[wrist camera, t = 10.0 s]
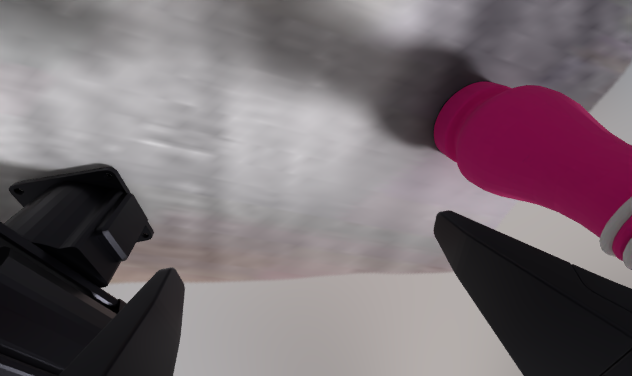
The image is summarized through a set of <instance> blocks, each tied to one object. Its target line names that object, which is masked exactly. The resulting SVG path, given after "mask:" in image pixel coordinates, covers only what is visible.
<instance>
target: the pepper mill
mask: <svg viewBox="0 0 632 376" xmlns="http://www.w3.org/2000/svg"><path fill="white" fill-rule="evenodd" d="M434 140H435V144H436V146H437V148H438V149H439V150H440V151H441V152H442V153H443V154H445V155H446V156H447V157H449V158H450V159H452V160H453V161H455V162H457V164H458V167H459V169H460V171H461V173H462V174H463V176H464V177H465V178H466V179H467V180H468V181H470V182H472V183H473V184H475V185H476V186H478V187H480V188H482V189H483V190H485V191H488V192H491V193H493V194H496V195H499V196H502V197H507V198H512V199H516V200H521V201H526V202H530V203H533V204H537V205H541V206H543V207H546V208H549V209H551V210H554V211H557V212H559V213H561V214H563V215H565V216H567V217H568V218H570V219H572V220H574V221H576V222H578V223H580V224H581V225H583V226H584V227H585V228H587V229H588V230H590V231H591V232H593V233H594V234H596V235H597V236H598V237H600V246H601V248H602V250H603V251H604V252H605V253H606V254H608V255H610V256H614V257H617V258H618V259H620V260H622V261H623V262H624V263H625V265H626V267H627V268H629V269H631V270H632V145H629V144H627V143H625V142H624V141H623V140H621V139H619V138H618V137H616V136H615V135H613V134H612V133H610V132H609V131H608V130H607V129H605V128H604V127H603V126H602V125H601V124H600V123H598V122H597V120H595V119H594V118H593V117H592V116H591V115H590V114H589V113H588V112H587V111H586V110H585V109H584V108H583V107H582V106H581V105H580V104H578V103H577V102H575V101H574V100H572V99H571V98H569V97H567V96H566V95H564V94H562V93H560V92H558V91H555V90H551V89H548V88H545V87H542V86H534V85H526V86H520V87H516V88H510V87H507V86H504V85H500V84H496V83H492V82H487V81H483V82H477V83H473V84H470V85H468V86H466V87H464V88H463V89H461V90H459V91H458V92H456V93H455V94H454V95H453V96H452V97H451V98H450V99H449V100H448V101H447V102H446V103H445V105H444V106H443V108H442V109H441V111H440V113H439V114H438V117H437V120H436V123H435V126H434Z"/></svg>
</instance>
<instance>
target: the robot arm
mask: <svg viewBox="0 0 632 376" xmlns="http://www.w3.org/2000/svg"><path fill="white" fill-rule="evenodd" d="M106 173H109V174H111V175H112V177H110V176H108V175H107V174H106ZM20 189H22V190H23V191H21V190H20ZM9 191H10V193H11V194H12V195H13V196H14V197H15V198H16V199H17V200H18V202H19V203H20V204H21V205H22V206H23V207H24V208H23V209H21V210H20V211H19V212H18V213H16V214H15V215H14V216H13V217H11V218H10V219H9V220H8V221H7V222H5V223H4V224H3V223H2V222H0V376H173V373H174V367H175V363H176V357H177V352H178V347H179V342H180V336H181V326H182V315H183V314H182V313H183V303H184V291H185V288H184V283H183V281H182V280H181V278H180V276H179V275H178V273H177V271H176V270H175V269H174V268H166V269H161V270H159V271H158V272H157V273H156V274H155V275H154V276H153V277H152V278H151V279H150V280H149V281H148V282H147V283H146V284H145V285H144V286H143V287H142V288H141V289H140V291H138V293H137V294H136V295H135V296H134V297H133V298H132V299H131V300H130V301H129V302H128V303H127V304H126V303H125V302H124V301H122V300H121V299H116V298H114V297H113V296H111V295H110V294H108V293H107V292H105V291H104V290H102V289H101V288H102V287H106V286H108V284H109V282H110V280H111V279H112V277H113V275H114V273H115V271H116V270H117V268H118V266H119V264H120V263H121V261H125V260H126V259H127V258H128V256H129V254H130V253H131V251H132V249H133V247H134V245H135V243H136V242H140V241H145V240H149V239H151V238H152V236H153V234H154V232H153V230H152V228H151V226H150V225H149V223H148V219H147V217H146V215H145V214H144V212H143V210H142V209H141V207H140V205H139V204H138V202H137V200H136V199H135V197H134V195H133V194H131V193H130V191H129V189H128V188H127V186H126V184H125V183H124V181H123V179H122V178H121V176H120V174H119V173H118V171H117V170H115V169H114V168H111V167H106V168H100V169H94V170H88V171H82V172H76V173H69V174H63V175H57V176H51V177H45V178H39V179H33V180H27V181H21V182H17V183H15V184H13V185H12V186H10V188H9ZM144 233H147V234H144ZM434 235H435V237H436V239H437V241H438V243H439V245H440V247H441V248H442V250H443V252H444V254H445V256H446V258H447V260H448V262H449V263H450V265H451V267H452V269H453V271H454V272H455V274H456V276H457V277H458V279H459V280H460V282H461V283H462V285H463V286H464V288H465V289H466V290H467V292H468V293H469V295H470V297H471V298H472V299H473V301H474V302H475V304H476V305H477V307H478V308H479V310H480V311H481V313H482V314H483V316H484V317H485V319H486V320H487V322H488V323H489V325H490V326H491V328H492V329H493V331H494V332H495V334H496V335H497V337H498V338H499V340H500V341H501V343H502V344H503V346H504V347H505V349H506V350H507V352H508V353H509V355H510V356H511V358H512V359H513V360H514V362H515V363H516V365H517V366H518V368H519V369H520V371H521V372H522V374H523V375H524V376H632V289H631V288H628V287H626V286H623V285H621V284H618V283H616V282H613V281H611V280H608V279H606V278H604V277H601V276H599V275H597V274H594V273H592V272H589V271H587V270H585V269H583V268H580V267H578V266H576V265H574V264H572V265H571V264H570V263H569V262H567V261H564V260H562V259H560V258H558V257H555V256H553V255H551V254H548V253H546V252H544V251H541V250H539V249H537V248H534V247H532V246H530V245H528V244H525V243H523V242H521V241H519V240H516V239H514V238H512V237H509V236H507V235H505V234H503V233H500V232H498V231H496V230H494V229H491V228H489V227H487V226H484V225H482V224H480V223H478V222H475V221H473V220H471V219H469V218H466V217H464V216H462V215H459V214H457V213H455V212H453V211H443V212H439V213H438V214H437V216H436V221H435V225H434Z"/></svg>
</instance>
